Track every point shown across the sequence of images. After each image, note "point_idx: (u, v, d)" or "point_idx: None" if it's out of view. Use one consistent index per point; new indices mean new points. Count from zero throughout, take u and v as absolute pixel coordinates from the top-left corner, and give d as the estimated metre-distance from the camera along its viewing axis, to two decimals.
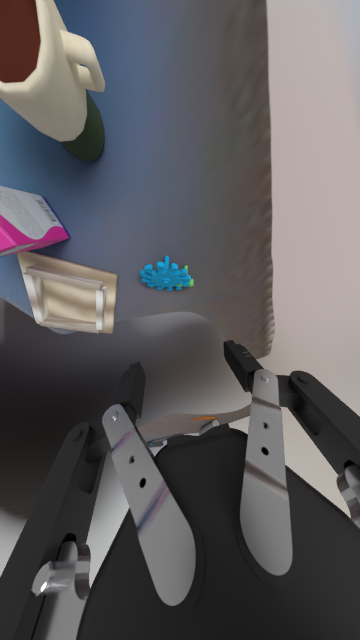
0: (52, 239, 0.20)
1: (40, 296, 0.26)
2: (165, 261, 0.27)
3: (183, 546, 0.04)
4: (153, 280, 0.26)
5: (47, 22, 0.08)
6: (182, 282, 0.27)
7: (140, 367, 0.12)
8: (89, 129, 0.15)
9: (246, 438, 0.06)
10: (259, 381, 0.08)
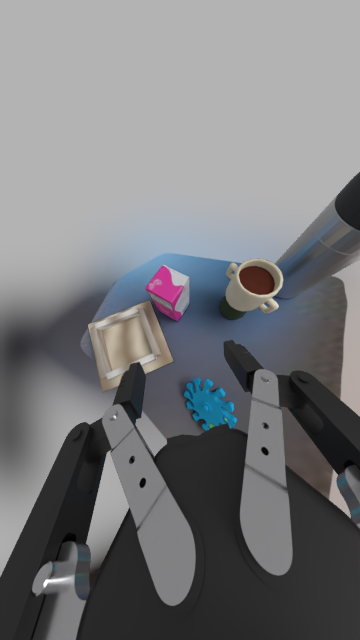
0: (175, 315, 0.28)
1: (121, 320, 0.30)
2: None
3: (183, 546, 0.04)
4: (197, 395, 0.24)
5: (273, 295, 0.19)
6: None
7: (140, 367, 0.12)
8: (241, 312, 0.28)
9: (246, 438, 0.06)
10: (259, 381, 0.08)
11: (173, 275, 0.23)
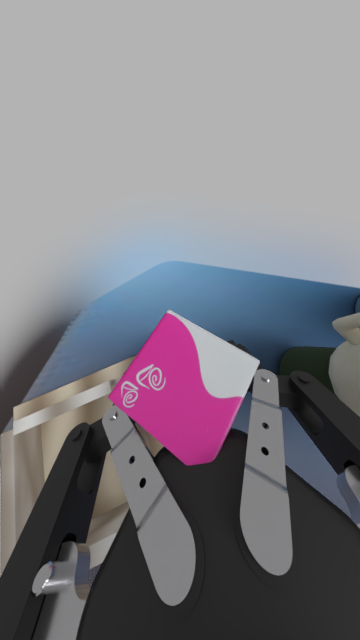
0: None
1: (76, 407, 0.14)
2: None
3: (183, 546, 0.04)
4: None
5: None
6: None
7: None
8: None
9: (246, 438, 0.06)
10: (259, 381, 0.08)
11: (204, 351, 0.07)
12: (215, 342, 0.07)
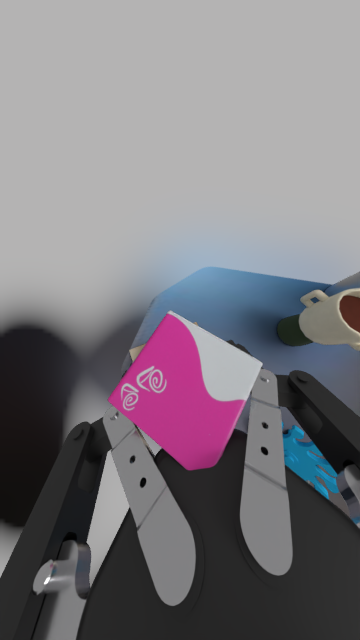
0: None
1: None
2: None
3: (183, 546, 0.04)
4: None
5: None
6: None
7: None
8: (311, 342, 0.24)
9: (246, 438, 0.06)
10: (258, 381, 0.08)
11: (206, 353, 0.07)
12: (217, 344, 0.07)
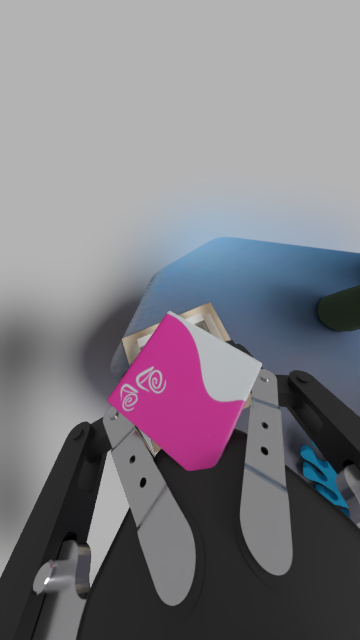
0: None
1: None
2: None
3: (183, 546, 0.04)
4: None
5: None
6: None
7: None
8: None
9: (246, 438, 0.06)
10: (258, 381, 0.08)
11: (205, 354, 0.07)
12: (217, 344, 0.07)
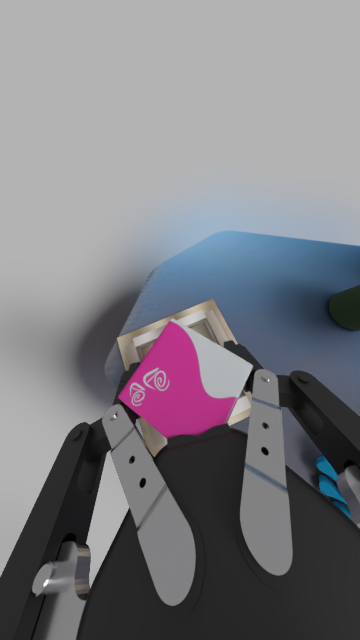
0: None
1: None
2: None
3: (183, 546, 0.04)
4: None
5: None
6: None
7: None
8: None
9: (246, 438, 0.06)
10: (259, 381, 0.08)
11: (203, 356, 0.08)
12: (213, 348, 0.08)
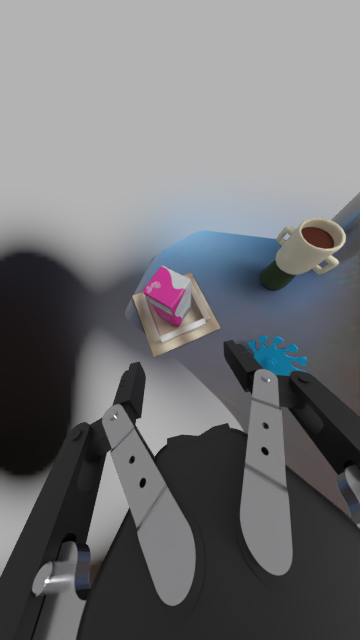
0: (175, 320, 0.25)
1: None
2: None
3: (183, 546, 0.04)
4: (261, 351, 0.25)
5: (338, 248, 0.20)
6: None
7: (140, 367, 0.12)
8: (287, 279, 0.29)
9: (246, 438, 0.06)
10: (259, 381, 0.08)
11: (173, 277, 0.21)
12: (177, 274, 0.21)
